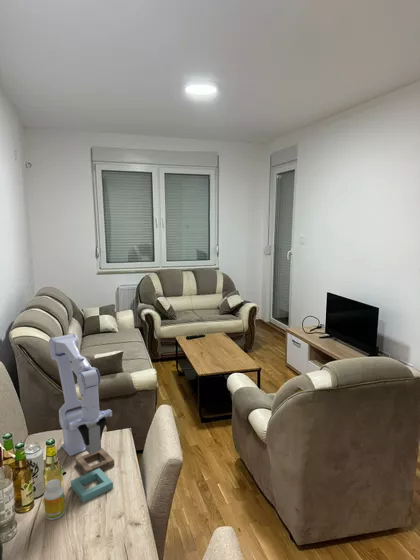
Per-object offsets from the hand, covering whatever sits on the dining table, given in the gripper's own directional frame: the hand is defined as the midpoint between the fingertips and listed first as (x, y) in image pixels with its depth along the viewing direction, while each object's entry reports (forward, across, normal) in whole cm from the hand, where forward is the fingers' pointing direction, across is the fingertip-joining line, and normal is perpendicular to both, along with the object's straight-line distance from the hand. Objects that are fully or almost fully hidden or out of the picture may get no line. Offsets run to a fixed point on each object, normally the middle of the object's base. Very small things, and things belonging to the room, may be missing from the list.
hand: (92, 441), depth 131 cm
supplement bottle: (+11, -18, -12) cm, 24 cm away
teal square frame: (+10, -4, -8) cm, 14 cm away
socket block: (+10, +2, +3) cm, 11 cm away
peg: (+3, 0, 0) cm, 3 cm away
